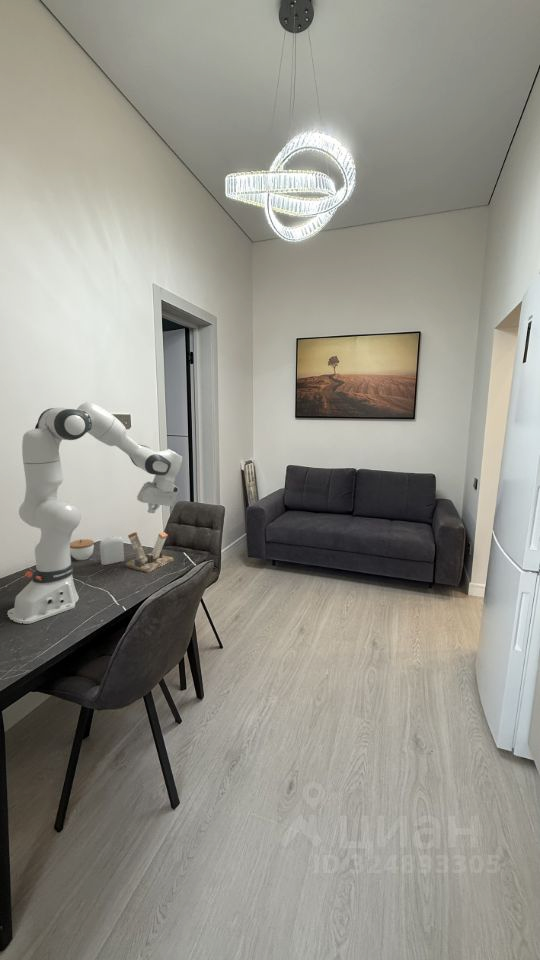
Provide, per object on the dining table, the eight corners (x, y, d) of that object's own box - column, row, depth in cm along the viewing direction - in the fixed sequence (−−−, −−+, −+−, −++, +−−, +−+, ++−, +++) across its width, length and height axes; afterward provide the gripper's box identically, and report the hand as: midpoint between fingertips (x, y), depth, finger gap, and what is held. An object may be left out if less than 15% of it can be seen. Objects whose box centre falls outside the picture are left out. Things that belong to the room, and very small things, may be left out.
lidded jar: (75, 554, 189) (73, 536, 187) (97, 553, 190) (96, 535, 188) (66, 562, 178) (64, 543, 177) (90, 561, 179) (88, 542, 178)
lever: (152, 561, 177) (162, 537, 172) (148, 557, 178) (158, 533, 173) (158, 558, 181) (168, 534, 175) (155, 555, 181) (164, 531, 176)
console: (147, 572, 168) (145, 539, 165) (125, 566, 175) (123, 533, 172) (173, 561, 182) (172, 529, 179) (152, 555, 188) (151, 525, 186)
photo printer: (102, 566, 175) (100, 540, 172) (100, 563, 178) (98, 537, 176) (125, 561, 180) (123, 536, 178) (123, 558, 184) (121, 534, 182)
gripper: (150, 483, 160) (138, 513, 161) (181, 490, 178) (170, 517, 179) (140, 478, 163) (128, 507, 164) (172, 485, 181) (161, 511, 182)
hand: (150, 512), depth 171 cm, fingers closed
